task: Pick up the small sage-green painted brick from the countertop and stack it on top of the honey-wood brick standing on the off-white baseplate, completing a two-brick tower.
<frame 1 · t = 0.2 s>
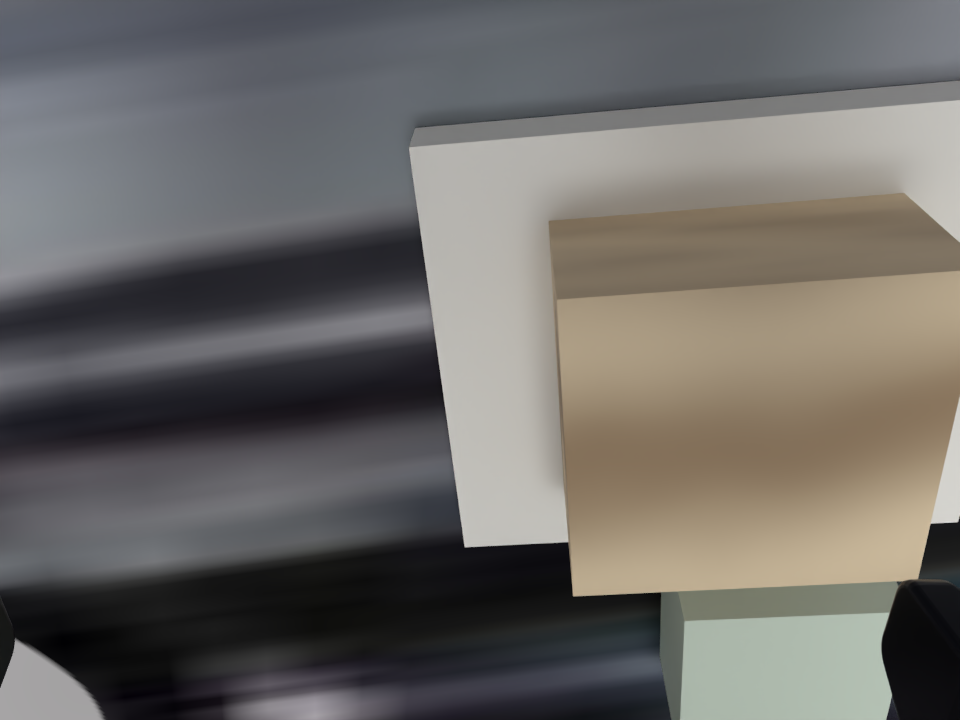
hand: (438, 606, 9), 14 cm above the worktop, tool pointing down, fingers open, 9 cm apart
baseplate: (704, 327, 23), on the worktop
wood brick: (715, 356, 22), point 1 cm above the worktop, touching baseplate
sage brick: (752, 586, 28), on the worktop
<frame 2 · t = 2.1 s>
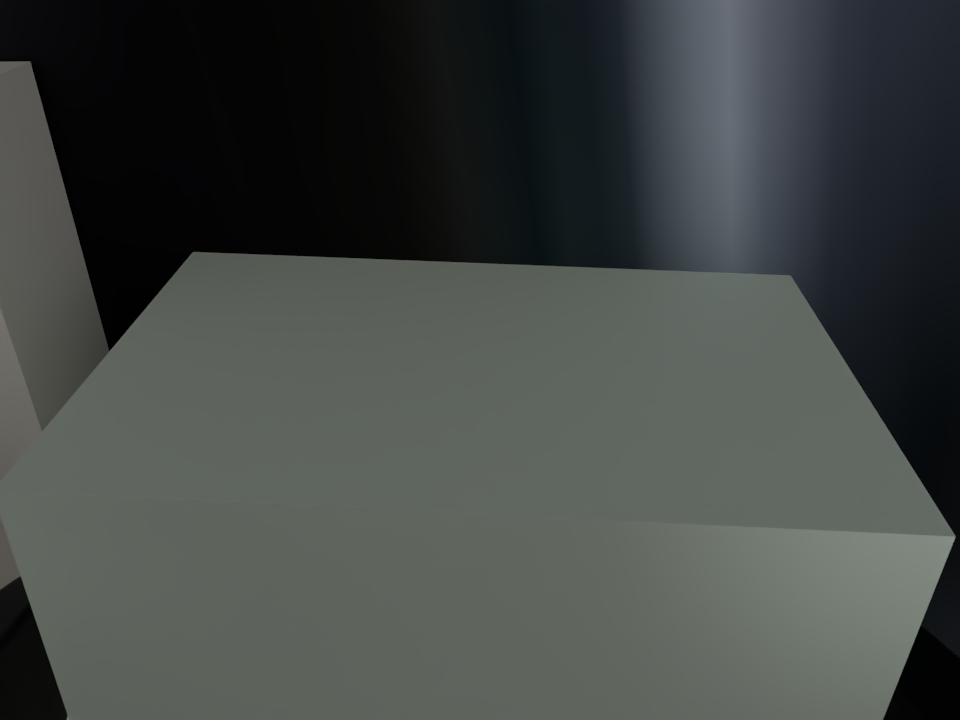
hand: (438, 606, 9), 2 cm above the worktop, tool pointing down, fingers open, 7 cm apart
sage brick: (482, 486, 10), on the worktop
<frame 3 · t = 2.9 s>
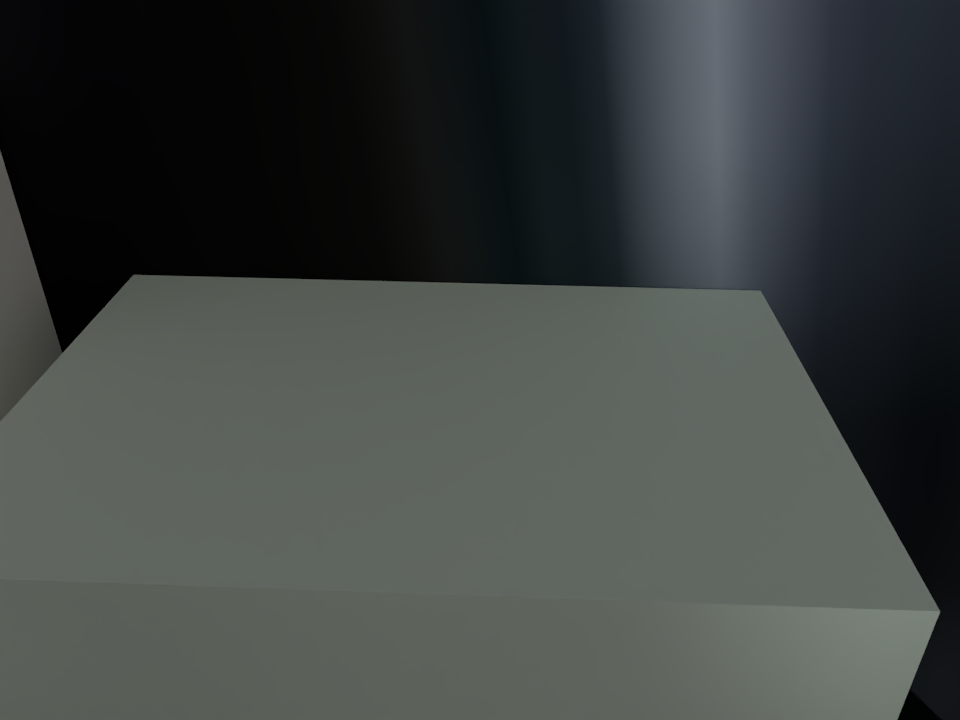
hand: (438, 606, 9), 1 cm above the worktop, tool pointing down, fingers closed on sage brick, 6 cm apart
sage brick: (446, 522, 10), on the worktop, touching gripper
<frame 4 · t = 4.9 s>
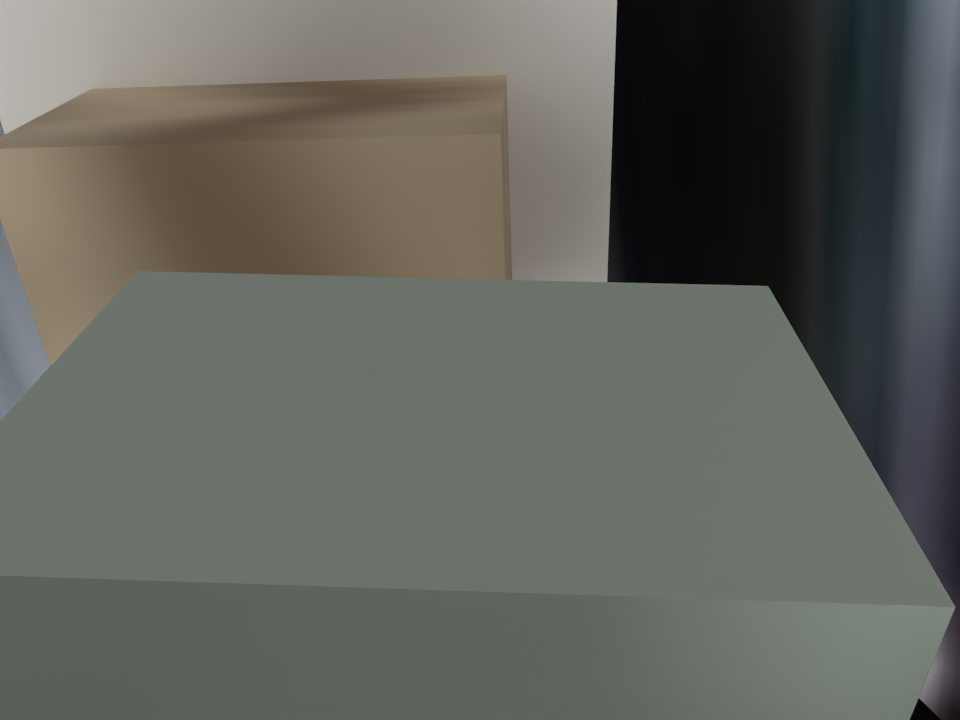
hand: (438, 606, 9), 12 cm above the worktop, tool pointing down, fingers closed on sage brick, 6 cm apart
baseplate: (337, 247, 20), on the worktop
wood brick: (323, 274, 18), point 1 cm above the worktop, touching baseplate
sage brick: (451, 520, 10), point 11 cm above the worktop, touching gripper
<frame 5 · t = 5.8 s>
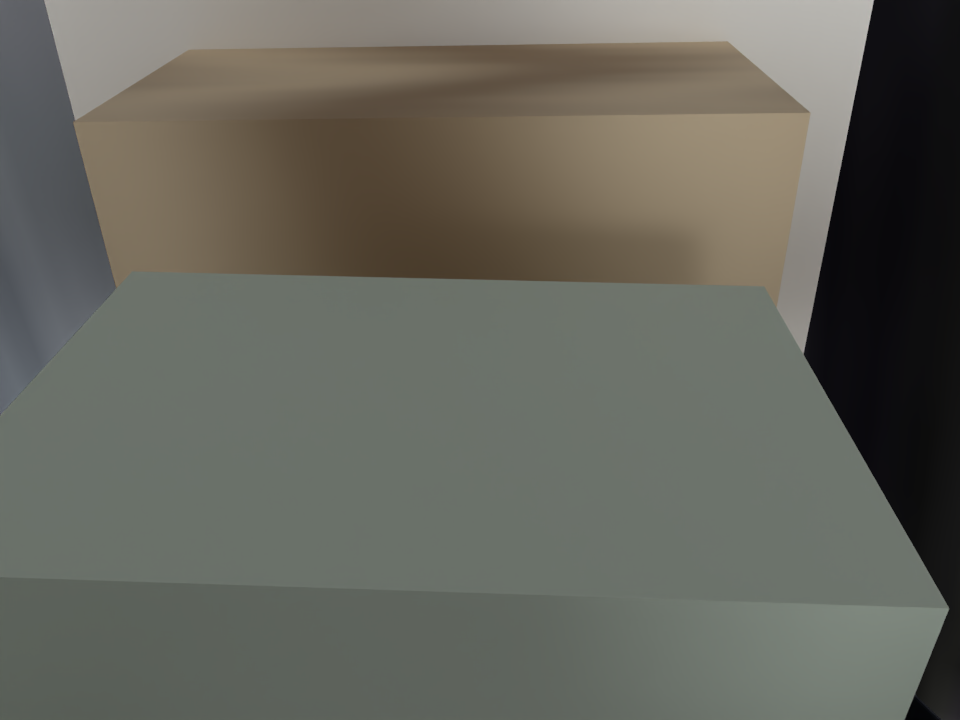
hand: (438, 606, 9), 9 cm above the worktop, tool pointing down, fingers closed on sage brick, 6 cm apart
baseplate: (466, 253, 16), on the worktop
wood brick: (463, 289, 15), point 1 cm above the worktop, touching baseplate
sage brick: (448, 521, 10), point 7 cm above the worktop, touching gripper
when the fingers open (8 cm above the worktop, at t = 6.7 s): sage brick drops 2 cm, resting on wood brick.
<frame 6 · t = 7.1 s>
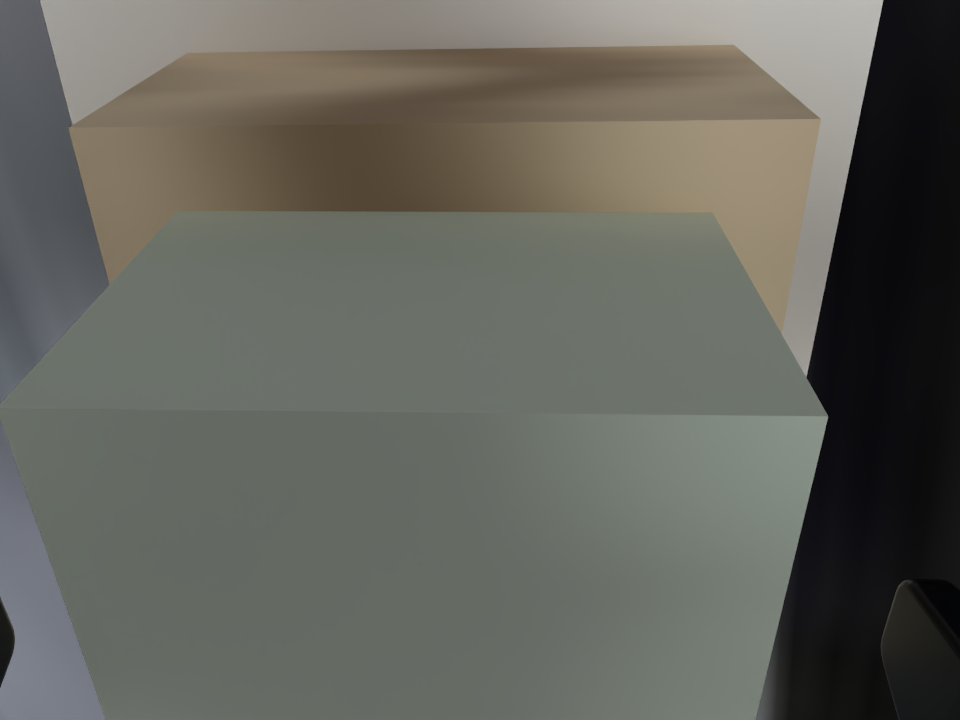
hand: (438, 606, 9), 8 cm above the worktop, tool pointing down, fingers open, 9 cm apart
baseplate: (468, 259, 16), on the worktop
wood brick: (465, 295, 15), point 1 cm above the worktop, touching baseplate, sage brick
sage brick: (449, 431, 11), point 5 cm above the worktop, touching wood brick
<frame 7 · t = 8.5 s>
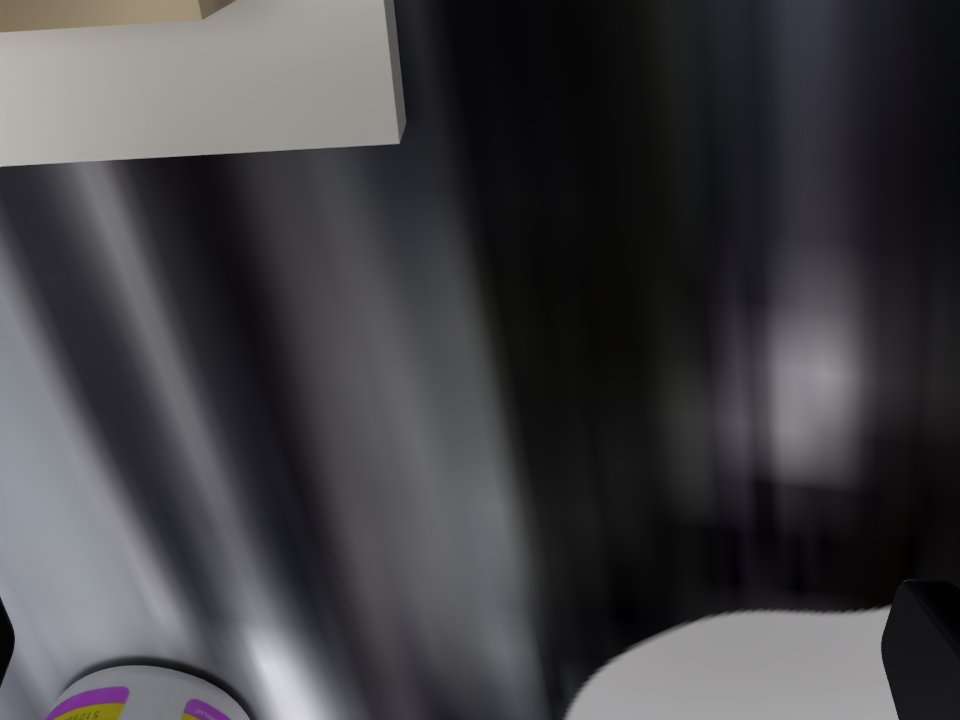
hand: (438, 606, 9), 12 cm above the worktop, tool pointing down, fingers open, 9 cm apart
supplement bottle: (163, 719, 28), on the worktop
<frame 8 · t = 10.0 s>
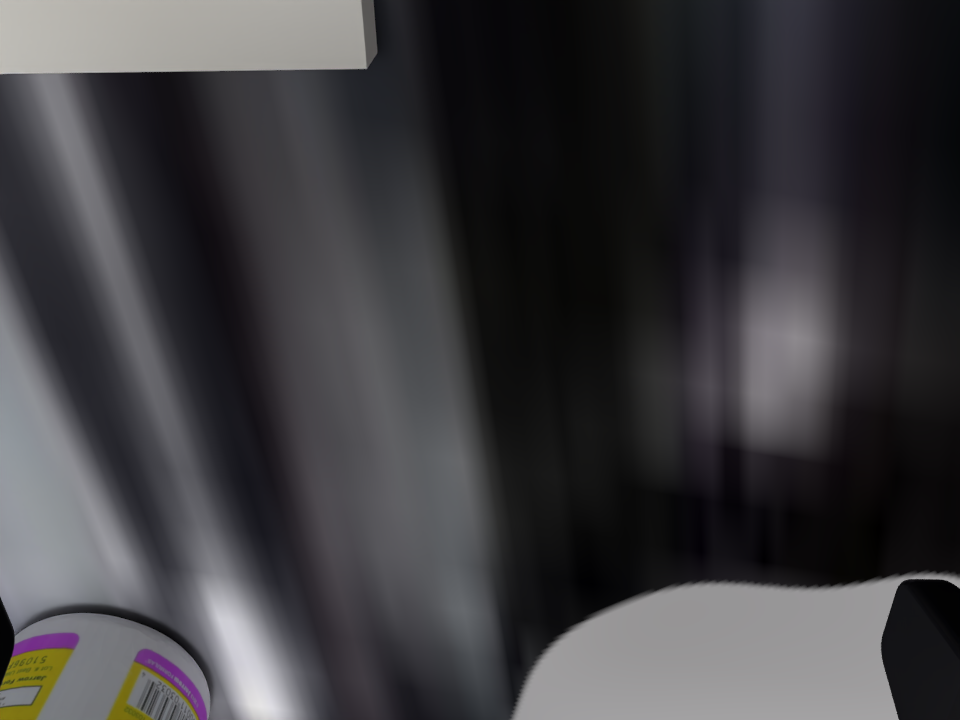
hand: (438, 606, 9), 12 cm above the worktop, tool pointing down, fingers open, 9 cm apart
supplement bottle: (116, 671, 28), on the worktop
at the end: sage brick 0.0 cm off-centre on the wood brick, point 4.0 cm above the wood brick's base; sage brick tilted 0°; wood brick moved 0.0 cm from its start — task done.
